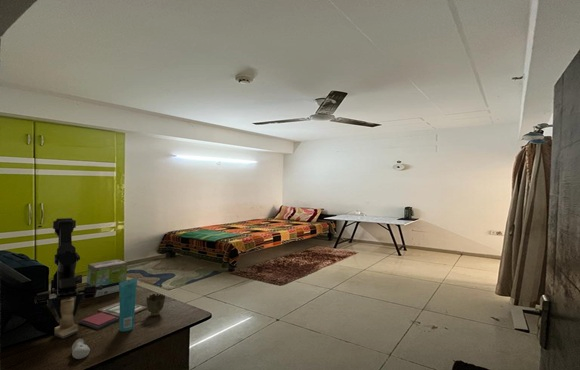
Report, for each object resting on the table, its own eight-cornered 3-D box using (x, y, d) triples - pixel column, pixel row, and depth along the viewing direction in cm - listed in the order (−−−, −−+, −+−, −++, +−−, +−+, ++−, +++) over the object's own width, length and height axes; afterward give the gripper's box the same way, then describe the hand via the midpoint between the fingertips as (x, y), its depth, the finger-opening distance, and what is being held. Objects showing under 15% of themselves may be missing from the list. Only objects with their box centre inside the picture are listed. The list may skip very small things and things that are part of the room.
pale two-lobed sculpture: (88, 362, 97) (69, 362, 94) (86, 350, 103) (69, 349, 100) (93, 348, 97) (75, 348, 94) (91, 337, 104) (74, 336, 101)
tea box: (95, 298, 144) (96, 267, 144) (85, 293, 150) (86, 263, 150) (126, 289, 157) (127, 261, 157) (116, 285, 162) (117, 258, 162)
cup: (157, 319, 125) (157, 300, 125) (141, 317, 127) (142, 298, 127) (167, 312, 132) (168, 294, 132) (153, 310, 134) (153, 292, 134)
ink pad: (79, 323, 119) (79, 319, 119) (101, 314, 127) (101, 311, 127) (97, 329, 115) (97, 326, 115) (119, 320, 123) (119, 316, 123)
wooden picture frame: (97, 311, 131) (97, 309, 131) (122, 301, 142) (122, 300, 142) (123, 319, 124) (123, 317, 124) (147, 308, 135) (147, 306, 135)
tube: (130, 323, 121) (132, 276, 121) (139, 326, 119) (141, 278, 119) (113, 331, 114) (115, 281, 114) (122, 334, 112) (124, 283, 112)
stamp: (54, 335, 109) (56, 301, 109) (69, 329, 114) (70, 296, 114) (63, 338, 107) (64, 303, 107) (77, 332, 112) (79, 299, 112)
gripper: (35, 272, 107) (34, 313, 99) (97, 264, 119) (100, 301, 111) (35, 287, 113) (33, 327, 105) (93, 279, 125) (96, 314, 117)
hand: (67, 317), depth 109 cm, fingers closed on stamp, 4 cm apart
